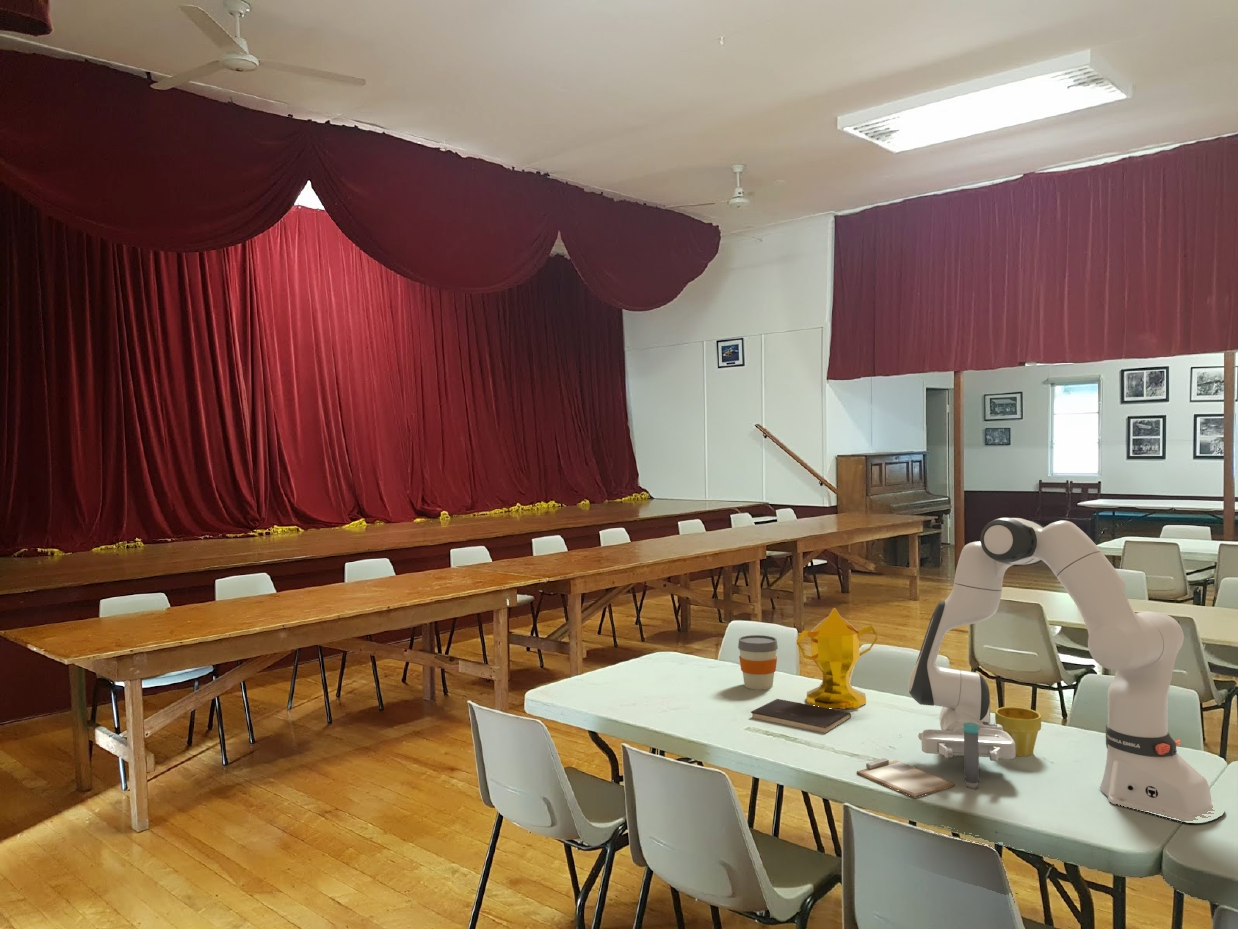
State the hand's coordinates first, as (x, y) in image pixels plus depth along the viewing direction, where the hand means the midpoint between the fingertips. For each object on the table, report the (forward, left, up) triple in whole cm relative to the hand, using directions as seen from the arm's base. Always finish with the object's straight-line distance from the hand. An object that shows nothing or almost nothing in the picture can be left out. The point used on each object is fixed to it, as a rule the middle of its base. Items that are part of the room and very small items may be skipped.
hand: (971, 756), depth 192 cm
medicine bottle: (+30, -40, -7) cm, 51 cm away
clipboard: (+11, +9, -7) cm, 16 cm away
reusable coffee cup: (+90, -13, -7) cm, 91 cm away
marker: (0, 0, -7) cm, 7 cm away
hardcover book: (+58, -2, -8) cm, 59 cm away
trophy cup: (+63, -21, -7) cm, 67 cm away
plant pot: (+8, -28, -7) cm, 30 cm away
